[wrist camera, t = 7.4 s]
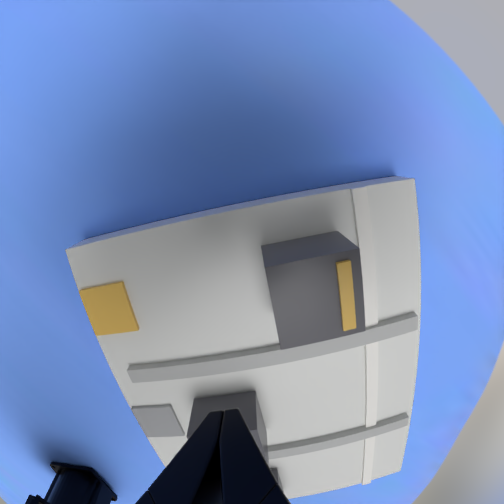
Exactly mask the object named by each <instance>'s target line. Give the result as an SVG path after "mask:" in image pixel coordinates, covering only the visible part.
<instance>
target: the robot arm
mask: <svg viewBox="0 0 504 504" xmlns="http://www.w3.org/2000/svg"><path fill="white" fill-rule="evenodd" d="M50 466H51V468H52V469H53V470H54V471H55V472H56V473H57V474H56V476H55V478H54V480H53V482H52V484H51V486H50V488H49V490H48V492H47V494H46V496H45V498H44V499H43V498H41V496H39V495H36V497H35V496H32V495H29V497H28V499H27V501H26V503H25V504H110V502H111V501H117V497H116V495H115V494H114V493H113V492H112V491H111V490H110V489H109V488H108V486H107V485H106V484H105V483H104V482H103V481H102V479H101V478H100V477H99V476H98V475H97V473H96V472H95V471H94V470H93V469H91V468H88V467H80V466H73V465H67V464H61V463H55V462H51V464H50ZM135 504H291V503H290V502H289V500H288V499H287V497H286V496H285V494H284V492H283V491H282V489H281V487H280V485H279V484H278V482H277V480H276V478H275V477H274V475H273V473H272V471H271V469H270V468H269V466H268V464H267V462H266V460H265V458H264V456H263V455H262V453H261V451H260V449H259V447H258V445H257V443H256V441H255V439H254V437H253V435H252V434H251V432H250V430H249V428H248V426H247V424H246V422H245V420H244V418H243V416H242V414H241V412H240V410H239V408H231V409H226V410H214V411H210V412H209V413H208V414H207V415H206V417H205V418H204V419H203V420H202V422H201V423H200V424H199V426H198V427H197V428H196V430H195V431H194V432H193V434H192V435H191V436H190V437H189V439H188V440H187V441H186V443H185V444H184V445H183V446H182V448H181V449H180V450H179V451H178V453H177V454H176V455H175V456H174V458H173V459H172V460H171V461H170V463H169V464H168V465H167V466H166V468H165V469H164V470H163V471H162V473H161V474H160V475H159V476H158V477H157V479H156V480H155V481H154V482H153V484H152V485H151V486H150V487H149V488H148V491H146V492H145V493H144V494H143V495H142V496H141V498H140V499H139V500H138V501H137V502H136V503H135Z"/></svg>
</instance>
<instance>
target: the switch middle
mask: <svg viewBox="0 0 504 504" xmlns="http://www.w3.org/2000/svg"><path fill="white" fill-rule="evenodd" d="M231 408H239V410H240V412H241V414H242V416H243V418H244V420H245V422H246V424H247V426H248V428H249V430H250V432H251V434H252V435H253V437H254V439H255V441H256V443H257V445H258V447H259V449H260V451H261V453H262V455H263V456H264V458H265V460H266V462H267V464H268V466H269V458H268V445H267V431H266V427H265V424H264V420H263V416H262V413H261V409H260V405H259V402H258V398H257V394H256V390H255V391H248V392H242V393H235V394H227V395H219V396H211V397H202V398H194V401H193V406H192V411H191V416H190V421H189V426H188V431H187V436H186V437H187V439H189V437H190V436H191V435H192V434H193V432H194V431H195V430H196V428H197V427H198V426H199V424H200V423H201V422H202V420H203V419H204V418H205V417H206V415H207V414H208V413H209V412H210V411H214V410H226V409H231Z"/></svg>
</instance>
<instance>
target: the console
mask: <svg viewBox="0 0 504 504" xmlns="http://www.w3.org/2000/svg"><path fill="white" fill-rule="evenodd" d="M333 231H338V232H340V233H341V234H342V235H344V236H345V237H346V238H347V239H349V240H350V241H351V242H352V243H354V244H355V245H356V246H357V247H359V248H360V258H361V268H362V280H363V293H364V308H365V327H366V331H364V332H360V333H356V334H352V335H348V336H343V337H339V338H335V339H331V340H326V341H322V342H317V343H313V344H308V345H303V346H299V347H294V348H289V349H284V350H281V349H280V344H279V339H278V333H277V328H276V323H275V318H274V313H273V308H272V303H271V298H270V292H269V287H268V282H267V277H266V272H265V267H264V261H263V255H262V250H261V245H267V244H272V243H277V242H282V241H287V240H292V239H297V238H302V237H307V236H312V235H317V234H323V233H328V232H333ZM65 251H66V254H67V257H68V260H69V264H70V267H71V270H72V273H73V276H74V279H75V282H76V285H77V288H78V290H79V294H80V296H81V299H82V302H83V304H84V307H85V310H86V312H87V315H88V317H89V320H90V323H91V325H92V327H93V330H94V332H95V335H96V337H97V339H98V342H99V344H100V346H101V349H102V351H103V353H104V355H105V358H106V360H107V362H108V364H109V366H110V368H111V370H112V373H113V375H114V377H115V379H116V381H117V383H118V385H119V387H120V389H121V391H122V393H123V395H124V397H125V399H126V401H127V402H128V404H129V406H130V408H131V410H132V412H133V414H134V416H135V417H136V419H137V421H138V423H139V425H140V426H141V428H142V430H143V432H144V433H145V435H146V437H147V438H148V440H149V442H150V443H151V445H152V447H153V448H154V450H155V451H156V453H157V455H158V456H159V458H160V459H161V461H162V462H163V464H164V466H165V467H166V466H167V465H168V464H169V463H170V461H171V460H172V459H173V458H174V456H175V455H176V454H177V453H178V451H179V450H180V449H181V448H182V446H183V445H184V444H185V443H186V441H187V440H188V439H187V437H186V436H187V431H188V426H189V421H190V416H191V411H192V406H193V401H194V398H202V397H211V396H219V395H227V394H235V393H242V392H248V391H255V390H256V394H257V398H258V402H259V405H260V409H261V413H262V416H263V420H264V424H265V427H266V431H267V445H268V458H269V468H270V469H277V470H278V473H279V477H280V480H281V484H282V487H283V490H284V494H285V496H286V497H287V499H290V498H296V497H302V496H308V495H313V494H318V493H323V492H327V491H332V490H336V489H340V488H344V487H348V486H352V485H356V484H360V483H362V485H365V484H368V483H371V480H373V479H377V478H380V477H383V476H386V475H389V474H392V473H395V472H398V471H400V470H401V466H402V461H403V457H404V452H405V447H406V442H407V436H408V431H409V425H410V419H411V413H412V406H413V399H414V391H415V383H416V373H417V363H418V351H419V336H420V313H421V258H420V235H419V220H418V208H417V197H416V188H415V179H414V178H407V177H400V176H392V177H385V178H378V179H372V180H365V181H359V182H353V183H346V184H340V185H334V186H329V187H323V188H317V189H311V190H306V191H300V192H295V193H289V194H284V195H279V196H273V197H268V198H263V199H258V200H253V201H248V202H243V203H238V204H233V205H228V206H224V207H219V208H214V209H209V210H205V211H200V212H196V213H191V214H187V215H182V216H178V217H173V218H169V219H165V220H161V221H156V222H152V223H148V224H144V225H140V226H135V227H131V228H127V229H123V230H119V231H115V232H111V233H107V234H104V235H100V236H96V237H92V238H88V239H84V240H82V241H80V242H79V243H77V244H75V245H73V246H71V247H69V248H68V249H66V250H65Z"/></svg>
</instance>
